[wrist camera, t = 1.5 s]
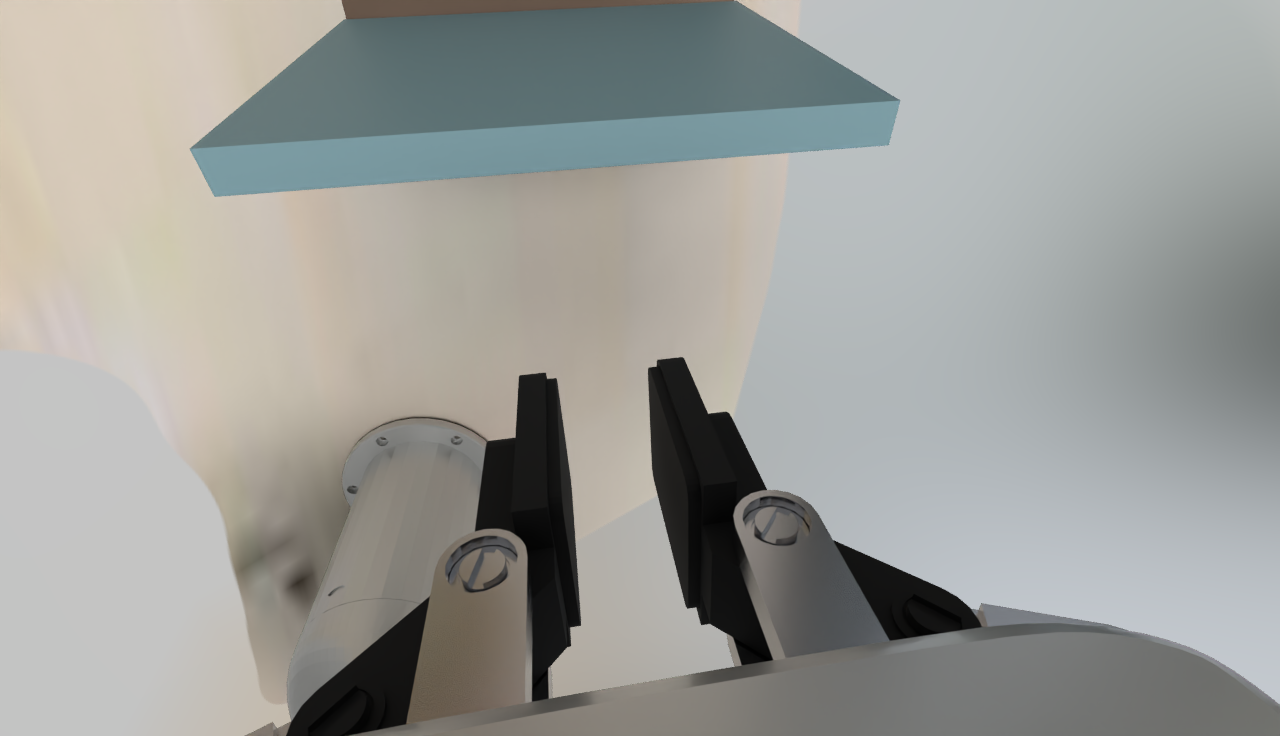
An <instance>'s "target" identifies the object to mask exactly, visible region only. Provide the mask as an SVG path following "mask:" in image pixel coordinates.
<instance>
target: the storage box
mask: <svg viewBox="0 0 1280 736" xmlns="http://www.w3.org/2000/svg"><path fill="white" fill-rule="evenodd" d="M725 1H734V0H342V4H343V8H344V11H345V15H346V19H366V18H387V17H408V16H429V15H450V14H472V13H493V12H514V11H535V10H556V9H577V8H598V7H619V6H640V5H661V4H682V3H704V2H725Z"/></svg>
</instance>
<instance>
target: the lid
mask: <svg viewBox="0 0 1280 736" xmlns="http://www.w3.org/2000/svg"><path fill="white" fill-rule="evenodd" d="M899 103H900V100H899V99H897V98H895V97H894V96H892V95H890V94H889V93H887V92H885V91H884V90H882V89H880V88H879V87H877V86H876V85H874V84H872V83H871V82H869V81H867V80H866V79H864V78H862V77H861V76H859V75H857V74H856V73H854V72H852V71H851V70H849V69H847V68H846V67H844V66H843V65H841V64H839V63H838V62H836V61H834V60H833V59H831V58H829V57H828V56H826V55H825V54H823V53H821V52H819V51H818V50H816V49H815V48H813V47H811V46H810V45H808V44H806V43H805V42H803V41H801V40H800V39H798V38H797V37H795V36H793V35H792V34H790V33H788V32H787V31H785V30H783V29H782V28H780V27H778V26H777V25H775V24H773V23H772V22H770V21H769V20H767V19H765V18H764V17H762V16H760V15H759V14H757V13H755V12H754V11H752V10H750V9H749V8H747V7H745V6H744V5H742V4H741V3H739V2H737V1H725V2H704V3H682V4H661V5H640V6H619V7H598V8H577V9H556V10H535V11H514V12H493V13H472V14H450V15H429V16H408V17H387V18H366V19H345V20H343V21H342V22H341V23H339V24H338V25H337V26H336V27H335V28H334V29H332V30H331V31H330V32H329V33H328V34H326V35H325V36H324V37H323V38H322V39H320V40H319V41H318V42H317V43H316V44H314V45H313V46H312V47H311V48H310V49H308V50H307V51H306V52H305V53H304V54H302V55H301V56H300V57H299V58H298V59H296V60H295V61H294V62H293V63H292V64H291V65H289V66H288V67H287V68H286V69H285V70H283V71H282V72H281V73H280V74H279V75H277V76H276V77H275V78H274V79H273V80H271V81H270V82H269V83H268V84H267V85H265V86H264V87H263V88H262V89H261V90H259V91H258V92H257V93H256V94H255V95H253V96H252V97H251V98H250V99H249V100H248V101H246V102H245V103H244V104H243V105H242V106H240V107H239V108H238V109H237V110H236V111H234V112H233V113H232V114H231V115H230V116H228V117H227V118H226V119H225V120H224V121H222V122H221V123H220V124H219V125H218V126H216V127H215V128H214V129H213V130H212V131H211V132H209V133H208V134H207V135H206V136H205V137H203V138H202V139H201V140H200V141H199V142H197V143H196V144H195V145H194V146H193V147H191V148H190V150H191V152H192V154H193V156H194V158H195V160H196V162H197V164H198V166H199V168H200V170H201V171H202V173H203V175H204V177H205V179H206V181H207V183H208V185H209V187H210V189H211V191H212V192H213V194H214V196H215V197H218V196H231V195H244V194H257V193H270V192H283V191H296V190H309V189H322V188H335V187H349V186H362V185H375V184H388V183H401V182H414V181H427V180H440V179H453V178H466V177H479V176H492V175H505V174H518V173H532V172H545V171H558V170H571V169H584V168H597V167H610V166H623V165H636V164H649V163H662V162H675V161H688V160H701V159H714V158H728V157H741V156H754V155H767V154H780V153H793V152H806V151H819V150H832V149H845V148H858V147H871V146H884V145H889V142H890V138H891V134H892V130H893V126H894V123H895V118H896V115H897V111H898V107H899Z"/></svg>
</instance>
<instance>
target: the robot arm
mask: <svg viewBox="0 0 1280 736" xmlns="http://www.w3.org/2000/svg"><path fill="white" fill-rule="evenodd" d="M648 382H649V405H650V429H651V453H652V470H653V477H654V482H655V486H656V490H657V494H658V498H659V502H660V506H661V510H662V514H663V518H664V522H665V526H666V530H667V534H668V537H669V542H670V545H671V549H672V553H673V557H674V561H675V565H676V569H677V573H678V577H679V581H680V585H681V589H682V593H683V597H684V601H685V605H686V607H687V608H695V607H696V608H697V611H698V615H699V619H700V623H701V625H705V624H711V625H713V626H715V627H716V628H718V629H720V630H721V631H723V632H725V633H727V639H728V646H729V649H730V652H731V656H732V659H733V663H734V666H735V667H731V668H725V669H719V670H713V671H707V672H701V673H696V674H690V675H684V676H678V677H672V678H666V679H661V680H655V681H649V682H643V683H637V684H632V685H626V686H620V687H614V688H608V689H602V690H597V691H591V692H585V693H579V694H574V695H568V696H562V697H557V698H553V696H552V672H551V667H550V666H551V665H552V664H553V662H554V661H555V660H556V659H557V658H558V657H559V656H560V655H561V653H562V652H563V651H564V650H565V649H566V648H567V647H570V646H571V636H570V627H575V626H581V616H580V602H579V587H578V573H577V558H576V544H575V529H574V515H573V501H572V488H571V478H570V471H569V463H568V456H567V449H566V442H565V434H564V427H563V420H562V413H561V406H560V398H559V391H558V384H557V378H554V379H547V376H546V373H538V374H529V375H520V376H519V388H518V405H517V422H516V438H510V439H502V440H493V441H488V442H486V441H485V440H484V439H482V438H481V437H480V436H478V435H477V434H475V433H474V432H472V431H470V430H468V429H466V428H464V427H462V426H460V425H457V424H454V423H450V422H447V421H443V420H436V419H429V418H415V419H406V420H399V421H395V422H392V423H389V424H386V425H383V426H380V427H379V428H377V429H375V430H373V431H371V432H369V433H368V434H367V435H366V436H364V437H363V438H362V439H361V440H360V441H358V443H357V444H356V445H355V447H354V448H353V449H352V451H351V452H350V454H349V457H348V459H347V461H346V463H345V466H344V469H343V473H342V488H343V491H344V495H345V498H346V500H347V502H348V504H349V505H350V507H351V509H350V511H349V514H348V517H347V519H346V522H345V524H344V527H343V529H342V532H341V534H340V537H339V539H338V542H337V545H336V547H335V550H334V552H333V555H332V557H331V560H330V562H329V565H328V568H327V570H326V573H325V575H324V578H323V580H322V583H321V585H320V588H319V591H318V593H317V596H316V598H315V601H314V603H313V606H312V608H311V611H310V613H309V616H308V619H307V621H306V624H305V626H304V629H303V631H302V634H301V636H300V638H299V640H298V643H297V646H296V648H295V651H294V654H293V657H292V660H291V663H290V667H289V672H288V679H287V702H288V708H289V713H290V718H291V722H289V723H287V724H285V725H283V726H282V727H279V728H276V727H275V725H274V723H273V722H272V723H270V724H268V725H266V726H264V727H262V728H260V729H258V730H256V731H254V732H252V733H250V734H248V735H246V736H1280V704H1278V703H1277V702H1275V700H1273V699H1272V698H1271V697H1269V696H1268V695H1267V694H1265V693H1264V692H1263V691H1261V690H1260V689H1259V688H1257V687H1256V686H1255V685H1253V684H1252V683H1251V682H1249V681H1248V680H1246V679H1245V678H1243V677H1242V676H1241V675H1239V674H1238V673H1236V672H1235V671H1233V670H1232V669H1230V668H1229V667H1226V666H1225V665H1223V664H1222V663H1220V662H1219V661H1217V660H1215V659H1214V658H1212V657H1210V656H1208V655H1205V654H1203V653H1201V652H1199V651H1197V650H1195V649H1192V648H1190V647H1187V646H1184V645H1181V644H1178V643H1175V642H1172V641H1169V640H1166V639H1162V638H1159V637H1155V636H1151V635H1147V634H1142V633H1138V632H1132V631H1128V630H1124V629H1121V628H1118V627H1114V626H1111V625H1107V624H1101V623H1095V622H1089V621H1083V620H1078V619H1071V618H1066V617H1060V616H1054V615H1047V614H1041V613H1035V612H1030V611H1024V610H1018V609H1012V608H1006V607H1000V606H994V605H988V604H982V603H981V605H980V608H979V610H975V609H971V608H970V607H968V606H967V605H966V604H965V603H964V602H963V601H961V600H960V599H959V598H958V597H957V596H955V595H953V594H951V593H949V592H948V591H946V590H944V589H942V588H940V587H938V586H935V585H933V584H931V583H929V582H926V581H924V580H922V579H920V578H917V577H915V576H913V575H911V574H908V573H906V572H903V571H902V570H899V569H897V568H895V567H893V566H890V565H888V564H886V563H883V562H881V561H879V560H877V559H874V558H872V557H870V556H868V555H865V554H863V553H861V552H858V551H856V550H854V549H852V548H850V547H847V546H845V545H843V544H840V543H838V542H836V541H834V540H832V538H831V536H830V534H829V532H828V531H827V529H826V527H825V525H824V523H823V522H822V520H821V518H820V517H819V515H818V513H817V512H816V511H815V509H814V508H813V507H812V506H811V505H810V504H809V503H808V502H806V501H805V500H803V499H802V498H801V497H798V496H796V495H793V494H791V493H788V492H783V491H778V490H767V489H766V487H765V485H764V483H763V480H762V479H761V476H760V474H759V472H758V470H757V468H756V466H755V464H754V462H753V460H752V458H751V456H750V454H749V452H748V450H747V448H746V446H745V444H744V442H743V440H742V438H741V436H740V434H739V432H738V430H737V428H736V425H735V423H734V421H733V419H732V417H731V416H730V414H729V413H728V412H719V413H711V414H708V413H707V410H706V408H705V406H704V403H703V401H702V399H701V397H700V394H699V392H698V390H697V387H696V385H695V383H694V380H693V378H692V376H691V374H690V371H689V369H688V367H687V364H686V362H685V360H684V358H683V357H680V358H671V359H662V360H657V367H650V368H648Z"/></svg>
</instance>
